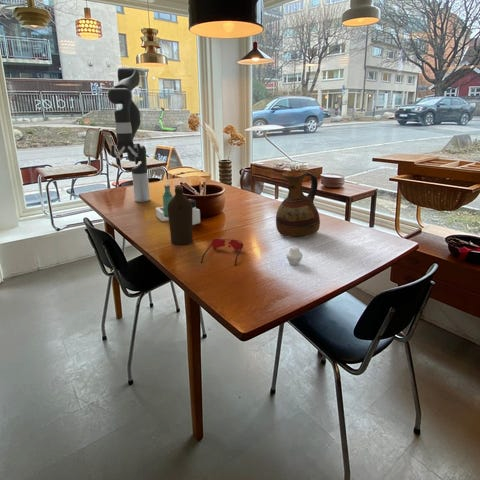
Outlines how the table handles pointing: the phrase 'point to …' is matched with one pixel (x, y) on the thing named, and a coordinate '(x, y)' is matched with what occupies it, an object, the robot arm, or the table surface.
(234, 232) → the table surface
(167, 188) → the green bottle
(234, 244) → the glasses
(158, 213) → the cream U-rest
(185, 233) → the olive oil
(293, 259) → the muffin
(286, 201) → the ceramic pitcher
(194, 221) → the medicine bottle
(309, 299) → the table surface
